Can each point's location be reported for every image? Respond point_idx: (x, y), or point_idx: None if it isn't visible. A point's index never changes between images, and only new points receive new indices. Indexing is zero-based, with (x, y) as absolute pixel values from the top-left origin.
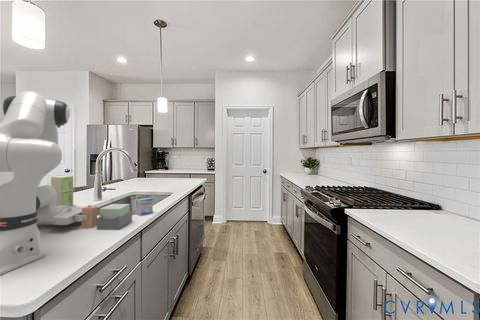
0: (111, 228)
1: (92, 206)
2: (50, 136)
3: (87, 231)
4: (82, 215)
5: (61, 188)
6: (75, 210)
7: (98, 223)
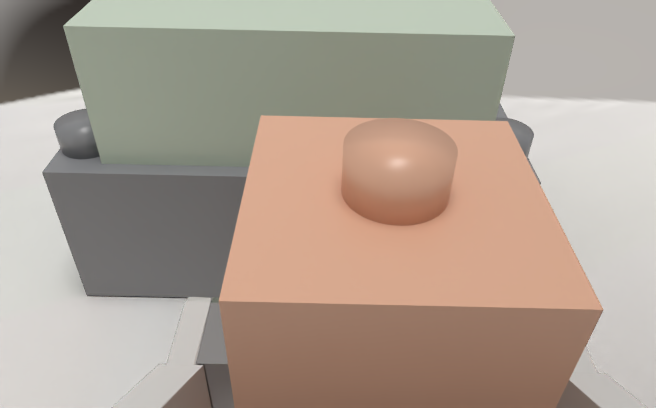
0: None
1: (307, 167)
2: None
3: (612, 370)
4: (603, 377)
5: None
6: None
7: None
